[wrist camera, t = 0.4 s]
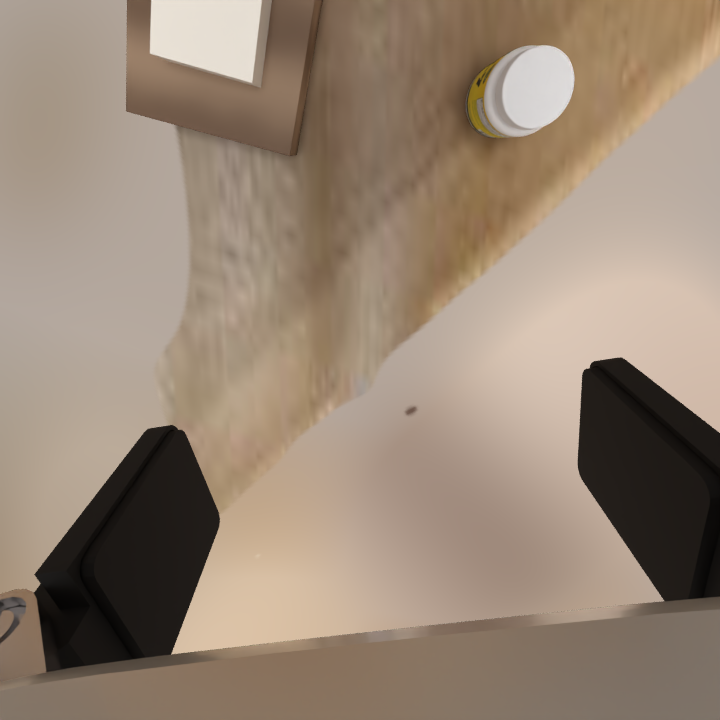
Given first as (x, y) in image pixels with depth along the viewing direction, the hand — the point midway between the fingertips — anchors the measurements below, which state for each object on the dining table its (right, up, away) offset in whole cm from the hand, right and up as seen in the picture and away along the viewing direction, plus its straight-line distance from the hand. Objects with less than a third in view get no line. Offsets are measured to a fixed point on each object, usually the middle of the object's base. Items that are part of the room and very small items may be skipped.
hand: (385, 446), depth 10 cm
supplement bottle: (+9, +21, +21) cm, 31 cm away
